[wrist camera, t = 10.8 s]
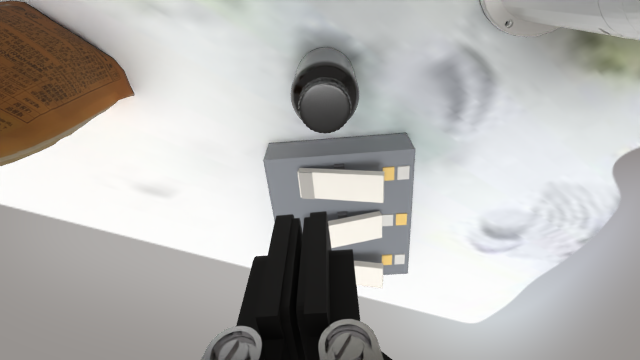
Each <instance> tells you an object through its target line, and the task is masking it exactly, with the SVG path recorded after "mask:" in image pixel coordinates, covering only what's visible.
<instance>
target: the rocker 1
mask: <svg viewBox="0 0 640 360" xmlns="http://www.w3.org/2000/svg"><path fill="white" fill-rule="evenodd" d="M297 173H298V181H299V188H300V196H301V197H302V198H303V199H315V198H316V199H331V200H346V201H361V202H375V203H383V202H384V171H362V170H340V169H317V168H299V170H298V171H297Z"/></svg>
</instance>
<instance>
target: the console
mask: <svg viewBox="0 0 640 360" xmlns="http://www.w3.org/2000/svg"><path fill="white" fill-rule="evenodd" d="M263 161H264V166H265V172H266V177H267V182H268V188H269V193H270V199H271V204H272V209H273V215H274V220H275V219H276V216H277V215H288V214H293V215H294V218H300V221H301V226H302V232H303V225H304V217H310V213H312V212H324V211H326V212H327V217H328V221H331V220H336V219H341V218H346V217H351V216H356V215H361V214H366V213H372V212H377V211H380V213H381V214H382V238H378V239H373V240H368V241H364V242H359V243H354V244H349V245H345V246H340V247H335V248H331V249H332V251H333V250H346V249H353V258H354V261H364V262H373V263H383V275H389V274H407V273H408V260H409V244H410V228H411V211H412V195H413V178H414V162H415V148H414V146H413V144H412V142H411V141H410V139H409V137H408V135H407V134H406V133H399V134H386V135H373V136H360V137H346V138H333V139H320V140H307V141H294V142H280V143H269V145H268V148H267V151H266V154H265V157H264V160H263ZM299 168H317V169H340V170H362V171H384V202H383V203H375V202H361V201H346V200H331V199H316V198H315V199H303V198H302V197H301V196H300V188H299V181H298V173H297V171H298V170H299Z"/></svg>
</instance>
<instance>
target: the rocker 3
mask: <svg viewBox="0 0 640 360" xmlns="http://www.w3.org/2000/svg"><path fill="white" fill-rule="evenodd" d="M354 267H355V277H356V285H358V286H367V287H375V288H383V263H373V262H364V261H354Z"/></svg>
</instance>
